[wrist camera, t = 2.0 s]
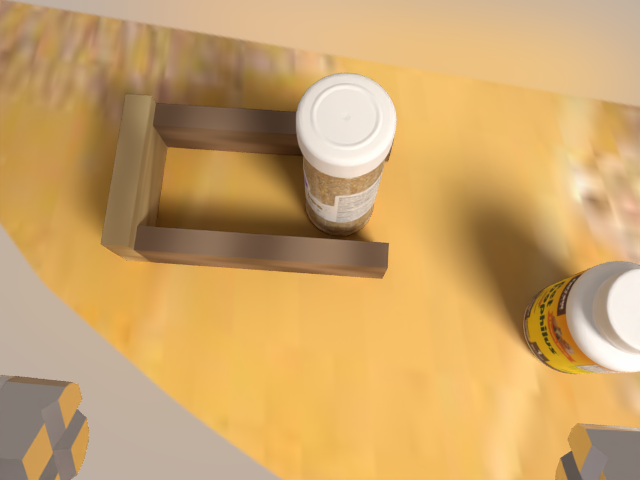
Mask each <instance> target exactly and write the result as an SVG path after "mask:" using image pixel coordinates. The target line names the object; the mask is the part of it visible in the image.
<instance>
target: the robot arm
mask: <svg viewBox="0 0 640 480" xmlns="http://www.w3.org/2000/svg"><path fill="white" fill-rule="evenodd" d="M81 400H82V396H81V392H80V388H79V385H78V384H76V383H73V382H66V381H56V380H47V379H38V378H29V377H19V376H5V375H0V480H71V479H72V478H74V477H75V476H76V475H77V474H78V472H79V470H80V467H81V465H82V463H83V461H84V458H85V454H86V450H87V446H88V441H89V439H88V438H89V436H88V435H89V427H88V422H87V418H86V417H85V416H84V415H83V414H82V413H81V412H80V411H79V410H78V409H77V408H78V406H79V404H80V402H81ZM568 442H569V445H570V447H571V450H572V451H570V452H569V453H567V454H566V455H564V456H563V457H561V458H560V461H559V464H558V467H557V470H556V477H555V480H640V429H639V428H634V427H620V426H607V425H593V424H579V423H578V424H576V425H575V426H574V427H573V428H572V430H571V432H570V435H569V437H568Z"/></svg>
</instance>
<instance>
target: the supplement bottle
mask: <svg viewBox="0 0 640 480" xmlns="http://www.w3.org/2000/svg"><path fill="white" fill-rule="evenodd" d="M523 328H524V335H525V338H526V341H527V343H528V346H529V347H530V349H531V351H532V352H533V354H534V355H535V356H536V357H537V358H538V359H539V360H540V361H541V362H542V363H543V364H545V365H546V366H548V367H550V368H552V369H554V370H556V371H559V372H563V373H569V374H589V373H623V372H624V373H625V372H637V371H640V265H638V264H634V263H630V262H623V261H614V262H607V263H603V264H600V265H597V266H594V267H592V268H590V269H587V270H585V271H583V272H580V273H578V274H576V275H573V276H571V277H569V278H567V279H564V280H562V281H560V282H558V283H555V284H553V285H551V286H548V287H546V288H544V289H543V290H541V291H540V292H539V293H537V294H536V295H535V296H534V297H533V298H532V300H531V301H530V303H529V304H528V306H527V309H526V311H525V315H524V321H523Z"/></svg>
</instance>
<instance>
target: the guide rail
mask: <svg viewBox="0 0 640 480" xmlns="http://www.w3.org/2000/svg"><path fill="white" fill-rule="evenodd" d="M393 141H394V139H393ZM392 145H393V143H392ZM167 147H174V148H190V149H205V150H220V151H236V152H251V153H266V154H281V155H297V156H303V154H302V152H301V149H300V147H299V144H298V139H297V133H296V112H289V111H273V110H257V109H241V108H226V107H210V106H194V105H178V104H162V103H156V102H155V101H154V99H153V97H152V96H150V95H134V94H126V95H125V101H124V107H123V113H122V119H121V125H120V131H119V137H118V143H117V149H116V155H115V161H114V167H113V173H112V179H111V185H110V191H109V197H108V203H107V209H106V215H105V221H104V227H103V233H102V239H101V245H103V246H104V247H106V248H107V249H109V250H111V251H112V252H114V253H115V254H117V255H119V256H120V257H122V258H123V259H125V260H129V261H143V262H157V263H171V264H185V265H199V266H213V267H227V268H241V269H255V270H269V271H283V272H297V273H311V274H325V275H339V276H354V277H368V278H383V276H384V274H385V272H386V270H387V268H388V247H389V243H381V242H366V241H352V240H337V239H323V238H309V237H294V236H280V235H265V234H251V233H237V232H222V231H208V230H193V229H179V228H165V227H156V222H157V215H158V208H159V201H160V194H161V187H162V181H163V174H164V167H165V160H166V153H167ZM391 149H392V146H391V148H390V151H389V153H388V155H387V156H386V158H385V161H388V160H389V156H390V152H391Z"/></svg>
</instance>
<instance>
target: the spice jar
mask: <svg viewBox="0 0 640 480" xmlns="http://www.w3.org/2000/svg"><path fill="white" fill-rule="evenodd" d="M395 130H396V111H395V107H394V105H393V102H392V100H391V98H390V96H389V95H388V93H387V92H386V91H385V90H384V89H383V88H382V87H381V86H380V85H379V84H378V83H376V82H375V81H373V80H372V79H370V78H368V77H365V76H362V75H359V74H354V73H338V74H333V75H330V76H327V77H324V78H322V79H320V80H319V81H317V82H316V83H314V84H313V85H312V86H311V87H310V88H309V89H308V90H307V91H306V92H305V94H304V95H303V97H302V98H301V100H300V102H299V105H298V108H297V112H296V133H297V139H298V144H299V147H300V149H301V152H302V154H303V171H304V182H305V193H306V199H305V204H306V211H307V214H308V216H309V218H310V220H311V221H312V223H313V224H314V225H315V226H316V227H317V228H318V229H319V230H321V231H323V232H325V233H327V234H331V235H335V236H347V235H350V234H352V233H355V232H357V231H359V230H360V229H362V228H363V227H364V226H365V225H366V224H367V222H368V221H369V219H370V217H371V215H372V212H373V207H374V201H375V198H376V194H377V191H378V187H379V183H380V179H381V176H382V172H383V168H384V161H385V158H386V156H387V155H388V153H389V151H390V148H391V146H392V143H393V139H394V135H395Z"/></svg>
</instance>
